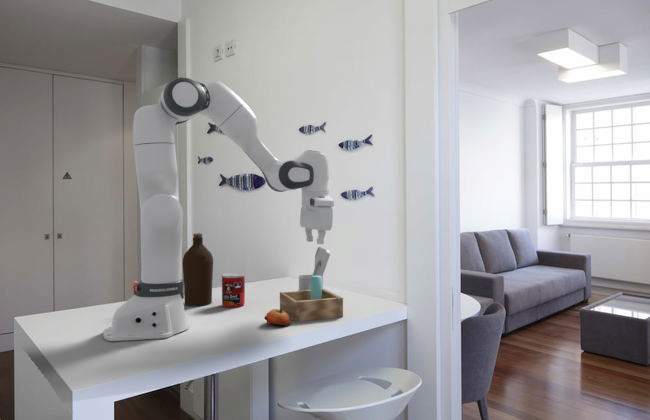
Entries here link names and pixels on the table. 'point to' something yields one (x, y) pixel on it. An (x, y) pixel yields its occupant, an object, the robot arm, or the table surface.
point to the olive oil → (197, 273)
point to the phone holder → (315, 269)
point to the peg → (316, 287)
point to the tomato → (278, 317)
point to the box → (311, 305)
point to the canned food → (233, 290)
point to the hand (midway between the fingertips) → (314, 242)
